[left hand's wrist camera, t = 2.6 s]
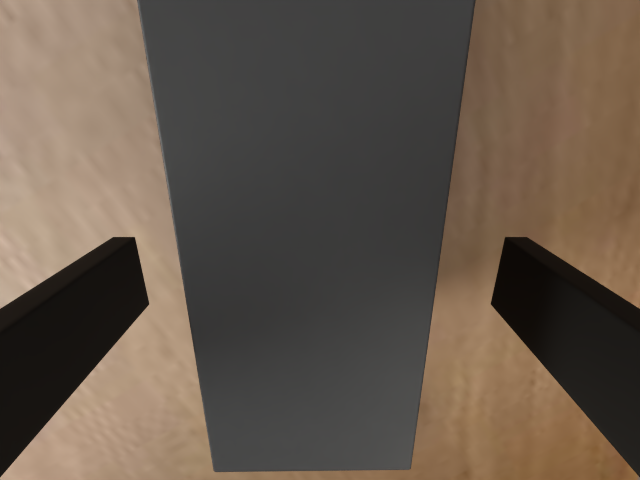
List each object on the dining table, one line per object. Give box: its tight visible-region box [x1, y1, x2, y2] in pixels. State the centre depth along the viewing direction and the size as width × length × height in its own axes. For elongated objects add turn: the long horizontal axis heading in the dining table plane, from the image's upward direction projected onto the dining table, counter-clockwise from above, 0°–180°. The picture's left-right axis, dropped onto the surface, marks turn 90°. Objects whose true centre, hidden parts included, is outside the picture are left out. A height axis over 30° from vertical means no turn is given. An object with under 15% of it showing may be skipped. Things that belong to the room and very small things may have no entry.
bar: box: [137, 0, 475, 472], centre depth 9 cm, size 21×5×8 cm, turn 0°
